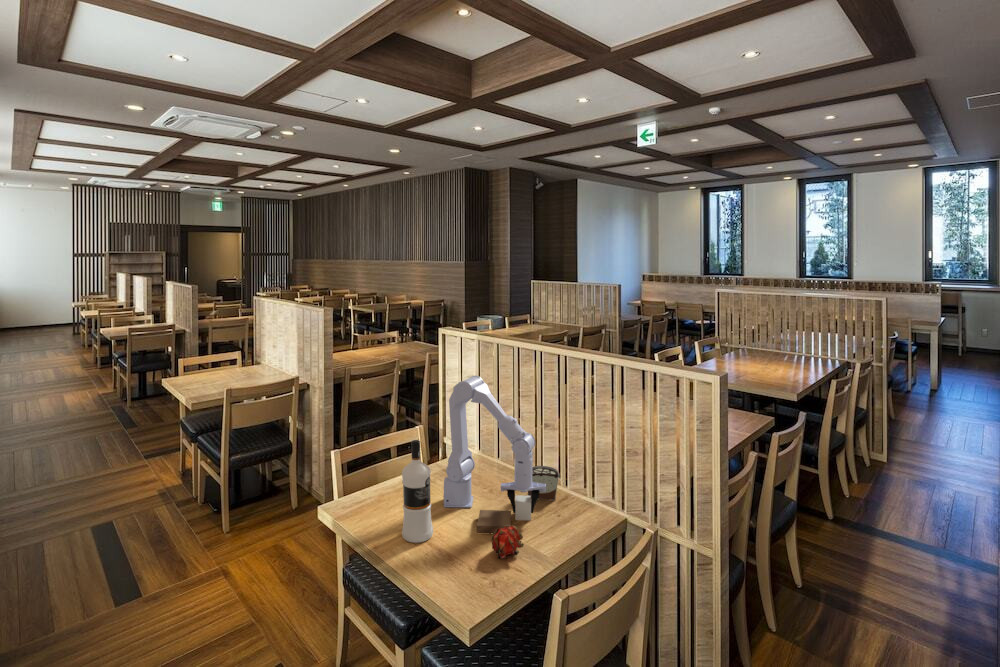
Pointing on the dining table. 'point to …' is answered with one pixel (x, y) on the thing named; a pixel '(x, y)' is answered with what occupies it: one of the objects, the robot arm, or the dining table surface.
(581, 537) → the dining table surface
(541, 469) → the food container
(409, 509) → the vodka
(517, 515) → the ceramic block
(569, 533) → the dining table surface
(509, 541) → the dragon fruit
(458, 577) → the dining table surface
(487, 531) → the block
